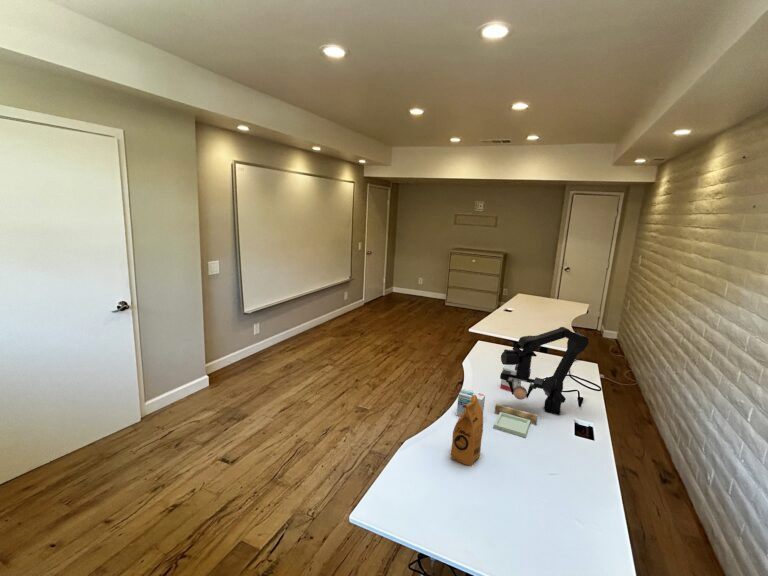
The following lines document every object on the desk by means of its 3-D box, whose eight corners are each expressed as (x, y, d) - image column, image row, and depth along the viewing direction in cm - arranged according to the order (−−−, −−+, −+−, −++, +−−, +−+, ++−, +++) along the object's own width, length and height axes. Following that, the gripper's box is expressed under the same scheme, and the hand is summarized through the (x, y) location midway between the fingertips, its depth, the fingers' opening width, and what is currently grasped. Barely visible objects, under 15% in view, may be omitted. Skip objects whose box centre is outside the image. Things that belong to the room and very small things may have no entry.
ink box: (515, 393, 197) (518, 371, 195) (499, 388, 202) (502, 367, 200) (521, 388, 204) (523, 367, 202) (505, 383, 209) (507, 363, 207)
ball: (527, 398, 179) (528, 386, 178) (525, 403, 174) (526, 390, 172) (513, 394, 181) (515, 382, 180) (511, 399, 176) (513, 387, 175)
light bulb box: (455, 415, 171) (458, 393, 169) (460, 409, 177) (462, 387, 175) (479, 422, 166) (482, 399, 164) (483, 416, 172) (485, 393, 170)
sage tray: (529, 424, 167) (530, 420, 167) (525, 438, 156) (525, 433, 156) (499, 415, 173) (500, 411, 173) (493, 428, 162) (493, 424, 162)
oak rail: (536, 423, 168) (537, 415, 167) (536, 425, 167) (537, 416, 166) (495, 411, 177) (496, 403, 176) (494, 413, 175) (495, 405, 174)
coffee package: (445, 458, 140) (451, 402, 136) (459, 443, 150) (465, 390, 146) (471, 469, 134) (477, 411, 130) (484, 452, 144) (490, 398, 140)
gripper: (547, 363, 177) (543, 395, 180) (506, 355, 186) (502, 385, 189) (545, 371, 168) (540, 404, 170) (501, 361, 176) (497, 393, 179)
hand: (519, 396), depth 177 cm, fingers closed on ball, 6 cm apart
